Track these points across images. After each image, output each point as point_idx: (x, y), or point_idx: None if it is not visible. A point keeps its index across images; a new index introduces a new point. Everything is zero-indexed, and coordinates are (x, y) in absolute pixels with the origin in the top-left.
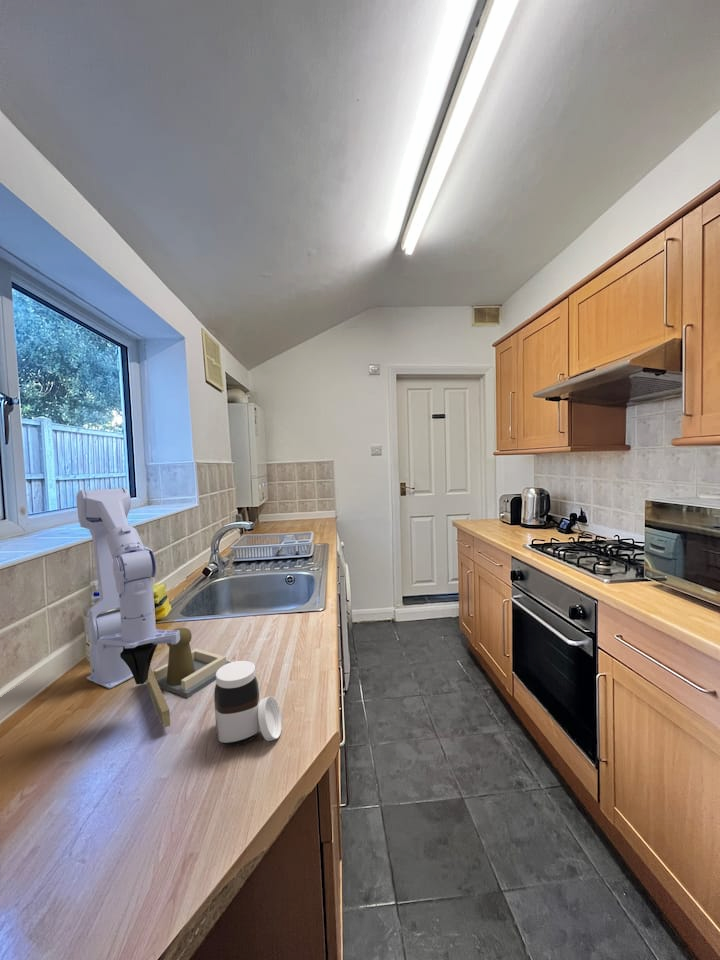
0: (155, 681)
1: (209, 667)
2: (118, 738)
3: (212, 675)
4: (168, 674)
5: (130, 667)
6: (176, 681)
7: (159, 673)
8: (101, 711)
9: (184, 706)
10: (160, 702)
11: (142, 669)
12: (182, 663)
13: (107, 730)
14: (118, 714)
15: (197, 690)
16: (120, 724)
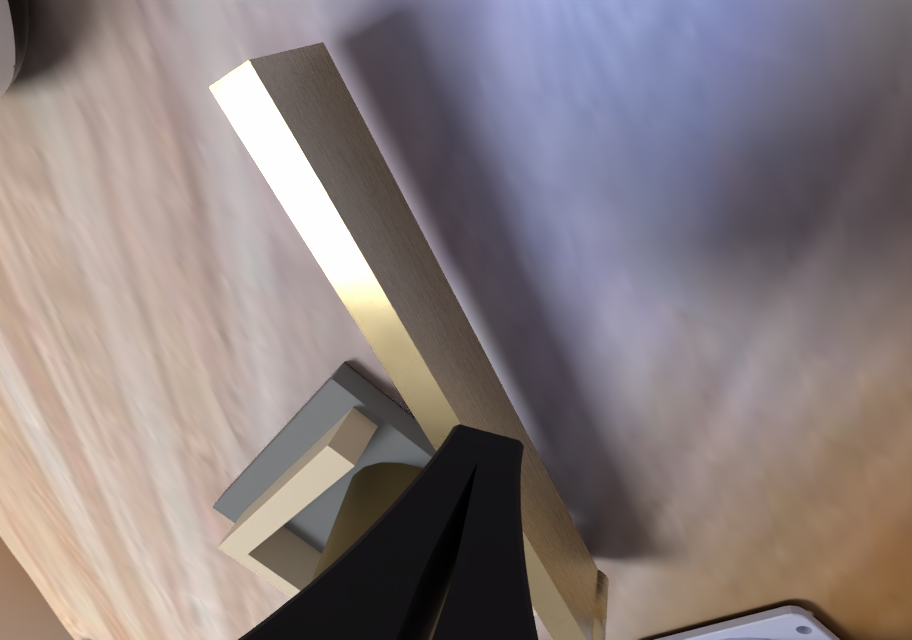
0: None
1: (259, 507)
2: (659, 96)
3: (270, 467)
4: None
5: (513, 635)
6: (407, 484)
7: None
8: (828, 438)
9: (333, 297)
10: (329, 224)
11: (376, 543)
12: None
13: (759, 223)
14: (708, 368)
15: (311, 397)
16: (675, 260)
